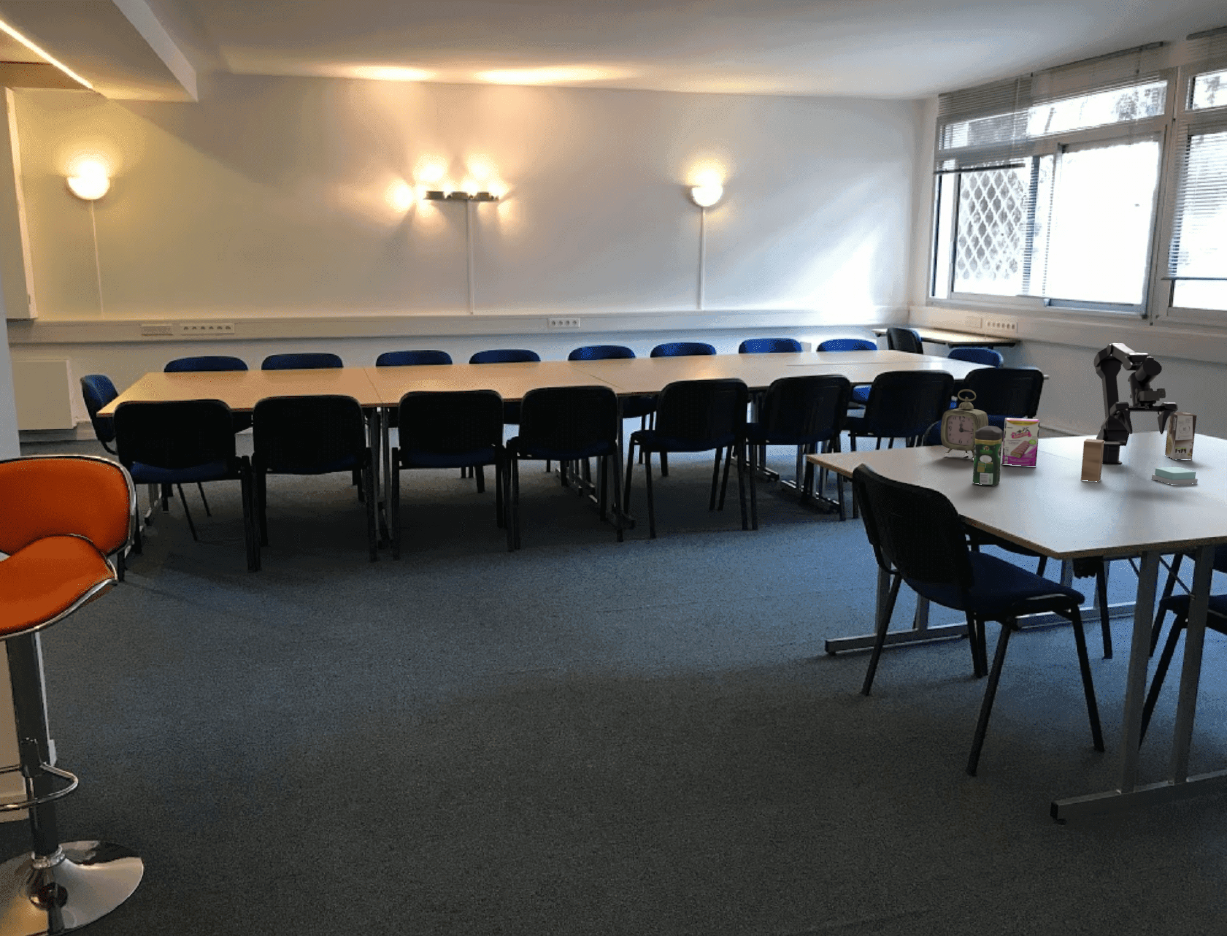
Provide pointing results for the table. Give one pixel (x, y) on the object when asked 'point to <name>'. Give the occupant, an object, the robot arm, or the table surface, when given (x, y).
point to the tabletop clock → (962, 426)
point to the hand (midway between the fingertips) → (1146, 433)
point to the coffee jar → (987, 455)
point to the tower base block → (1181, 481)
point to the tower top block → (1175, 473)
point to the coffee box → (1180, 435)
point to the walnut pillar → (1092, 460)
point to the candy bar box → (1020, 441)
